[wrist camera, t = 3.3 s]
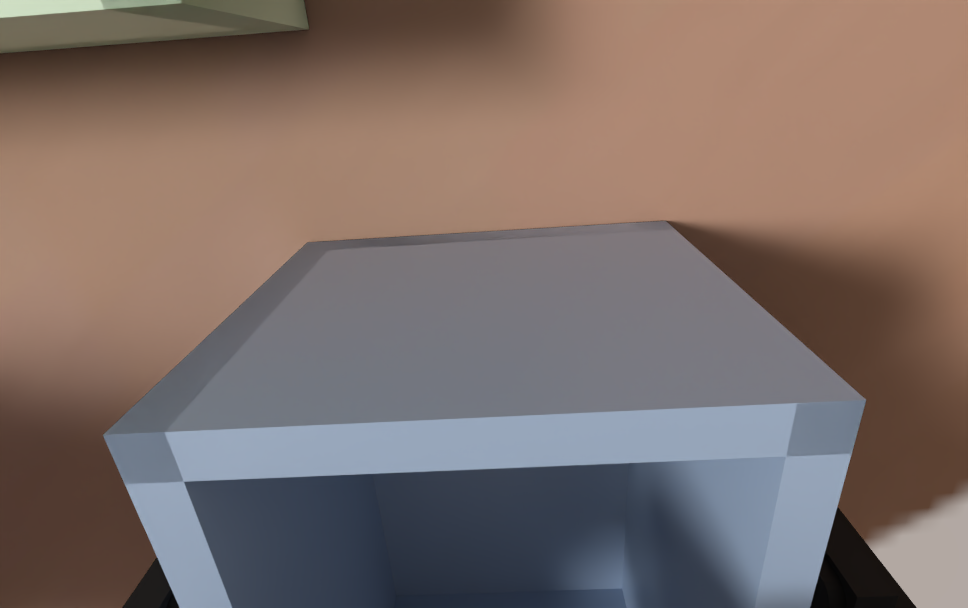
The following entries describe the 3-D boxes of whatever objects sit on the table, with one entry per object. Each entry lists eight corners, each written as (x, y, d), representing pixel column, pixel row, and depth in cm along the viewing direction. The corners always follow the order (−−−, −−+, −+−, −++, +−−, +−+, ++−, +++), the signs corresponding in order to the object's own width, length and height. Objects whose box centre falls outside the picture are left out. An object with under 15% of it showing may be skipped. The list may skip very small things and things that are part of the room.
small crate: (638, 583, 14) (729, 905, 9) (381, 591, 15) (312, 909, 9) (665, 220, 10) (866, 399, 5) (306, 242, 10) (102, 435, 5)
